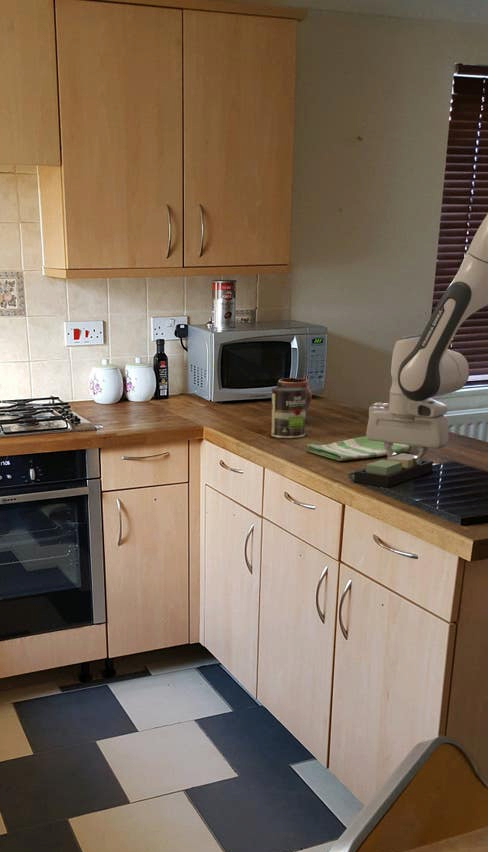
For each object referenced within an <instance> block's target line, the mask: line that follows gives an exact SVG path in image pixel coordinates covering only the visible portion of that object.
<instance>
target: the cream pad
mask: <svg viewBox="0 0 488 852" xmlns="http://www.w3.org/2000/svg"><path fill="white" fill-rule="evenodd" d="M416 456H418V454H411V453H404V452H402V453H398V454H397V455H395V456H392V457H389V458H388V457H387V459H386V460H388V461H395V462H402V467H406V468H410V467H413V466H416V464H413V457H416Z"/></svg>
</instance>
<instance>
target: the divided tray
mask: <svg viewBox="0 0 488 852" xmlns="http://www.w3.org/2000/svg"><path fill="white" fill-rule="evenodd" d="M433 468H434V461H433V460H426V459H422V464H420V465H416V466H413V467H410V468H406V467H402V471H399V472H396V473H393V474H390V475H381V474H374V473H367V472H366V467H365V468H362V469H359V470H356V471H354V478H353V479H354V483H359V484H364V485H371V486H372V485H373V486H377V487H383V488H390V487H394V486H396V485H399V484H402V483H404V482H407V481H409V480H412V479H415V478H418V477H420V476H421V477H422V476H423V475H426V474H428V473H429V474H430V473H432V472H433V470H434V469H433Z"/></svg>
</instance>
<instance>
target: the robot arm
mask: <svg viewBox="0 0 488 852" xmlns="http://www.w3.org/2000/svg"><path fill="white" fill-rule="evenodd" d="M487 306H488V213H487V214H486V216H485V217H484V219H483V220H482V222H481V223H480V225H479V227H478V229H477V231H476V233H475V234H474V236H473V239H472V241H471V242H470V244H469V247H468V249H467V251H466V253H465V256H464V258H463V260H462V263H461V264H460V267H459V269H458V271H457V273H456V274H455V276H454V278H453V280H452V281H451V283H450V284H449V286H448V287H447V288H446V290H445V291H444V293H443V295H442V296H441V298H440V299H439V301H438V303H437V305H436V306H435V308H434V310H433V312H432V314H431V315H430V318H429V320H428V322H427V323H426V326H425V328H424V330H423V331H422V334H415V335H407V336H403V337H401V338H399V339H397V341H396V342H395V344H394V347H393V351H392V356H391V366H390V367H391V368H390V377H391V386H390V389H389V402H385V403H384V402H374V403H372V404H371V405H370V407H369V408H368V421H367V426H366V432H365V433H366V436H367V438H368V439H369V440H371V441H379V442H384V448H385V450H386V452H387V454H388V455H387V458H389V457H392V456H395V455H398V454H397V453H394V452H393V449H392V447H391V446H393V443H396V444H404V445H412V447H417V451H418V454H417V455H418V456H416V457H413V464H416V465H420V464H422V460H423V457H424V456H425V455H426V453H427V451H428V450H429V449H438V450H439V449H442V448H445V447H446V446H447V445H448V443H449V436H450V428H449V427H450V426H449V425H450V424H449V420H448V417H447V416H446V414H447V413H448V405H447V404H445V403H443V402H441V401H437V400H436V399H434V398H435V397H440V396H444V395H448V394H452V393H455V392H457V391H460V390H462V389H463V388H464V387H465V386H466V384H467V383H468V380H469V377H470V373H471V372H470V364H469V362H468V359H467V358H466V356H464V354H462V353H461V352H459V351H454V350H452V349H449V346H450V345H451V343H452V342H453V339H454V337H455V335H456V333H457V331H458V330H459V329H460V327H461V325H462V324H463V323H464V322H465V320H467V319H468V318H469V317H470V316H471V315H472V314H475V313H476V312H477V311H480V310H481V309H483V308H485V307H487ZM428 448H429V449H428Z"/></svg>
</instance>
